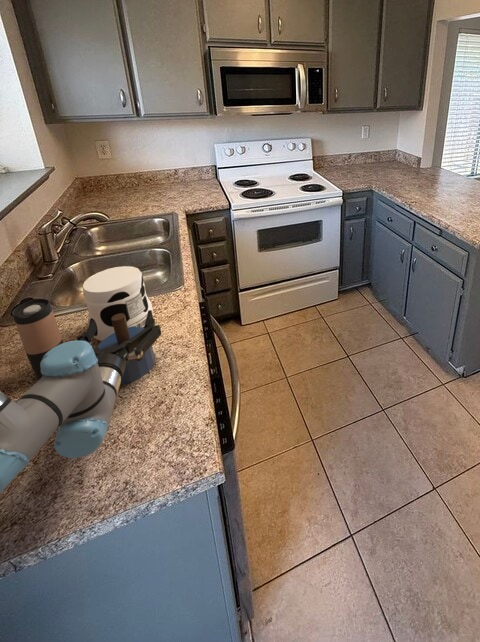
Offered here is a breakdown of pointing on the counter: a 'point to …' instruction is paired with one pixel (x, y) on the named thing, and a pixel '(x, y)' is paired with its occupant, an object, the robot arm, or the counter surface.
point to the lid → (119, 332)
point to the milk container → (116, 299)
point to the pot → (138, 367)
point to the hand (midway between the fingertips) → (123, 319)
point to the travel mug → (37, 330)
